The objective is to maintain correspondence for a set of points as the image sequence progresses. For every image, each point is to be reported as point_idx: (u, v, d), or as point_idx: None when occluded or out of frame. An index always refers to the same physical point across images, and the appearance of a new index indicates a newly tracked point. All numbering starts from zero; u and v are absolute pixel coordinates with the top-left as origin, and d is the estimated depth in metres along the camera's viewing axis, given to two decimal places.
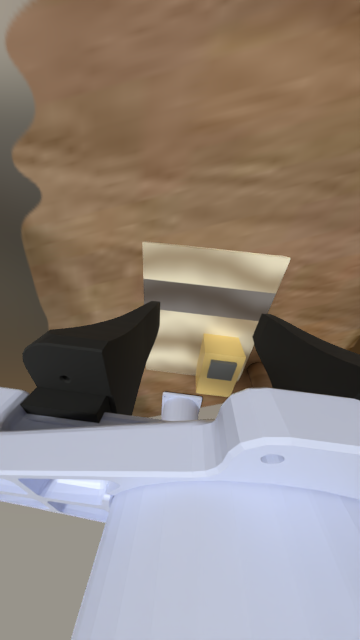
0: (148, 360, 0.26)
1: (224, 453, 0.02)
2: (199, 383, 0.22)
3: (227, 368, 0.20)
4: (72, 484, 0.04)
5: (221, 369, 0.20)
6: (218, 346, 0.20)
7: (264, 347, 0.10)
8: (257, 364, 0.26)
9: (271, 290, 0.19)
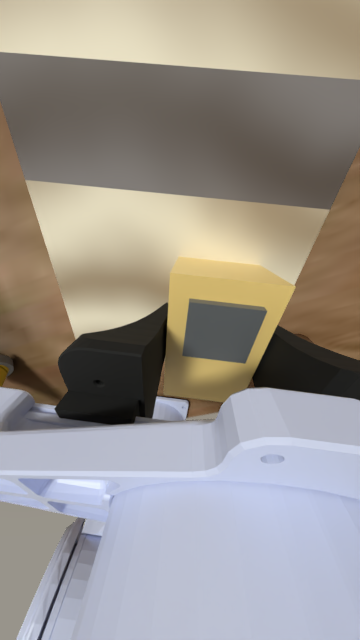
0: (77, 330, 0.13)
1: (224, 453, 0.02)
2: (167, 372, 0.09)
3: (237, 324, 0.07)
4: (72, 484, 0.04)
5: (220, 329, 0.07)
6: (212, 269, 0.08)
7: None
8: None
9: None
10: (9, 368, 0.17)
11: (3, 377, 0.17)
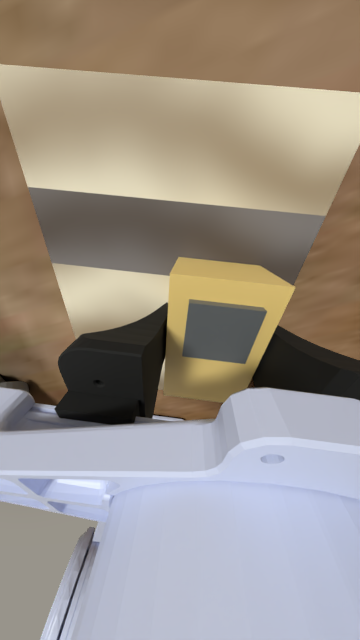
0: None
1: (224, 453, 0.02)
2: (167, 372, 0.09)
3: (236, 325, 0.07)
4: (72, 484, 0.04)
5: (220, 330, 0.07)
6: (212, 270, 0.08)
7: None
8: None
9: (316, 207, 0.08)
10: None
11: None
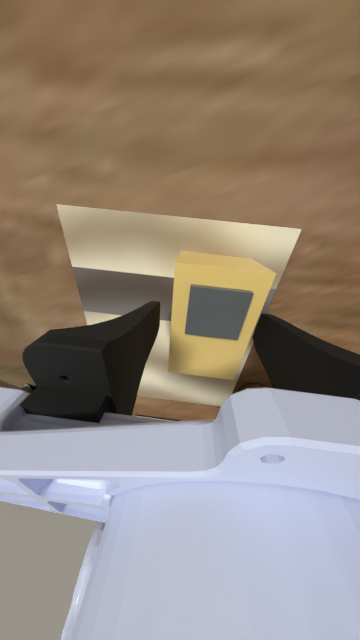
0: None
1: (224, 453, 0.02)
2: (172, 350, 0.11)
3: (229, 305, 0.08)
4: (72, 484, 0.04)
5: (216, 310, 0.09)
6: (210, 260, 0.09)
7: (264, 347, 0.10)
8: (251, 386, 0.19)
9: None
10: None
11: None
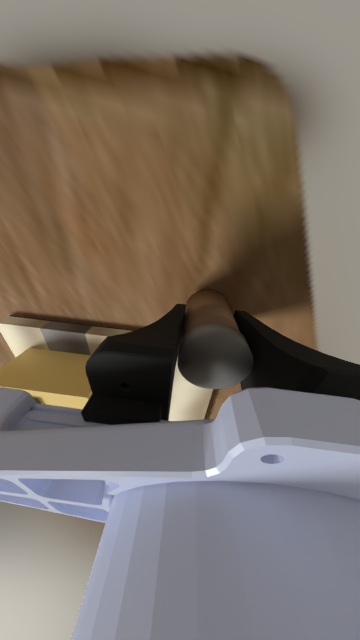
0: None
1: (224, 453, 0.02)
2: None
3: None
4: (72, 484, 0.04)
5: None
6: None
7: None
8: None
9: (38, 333, 0.14)
10: None
11: None
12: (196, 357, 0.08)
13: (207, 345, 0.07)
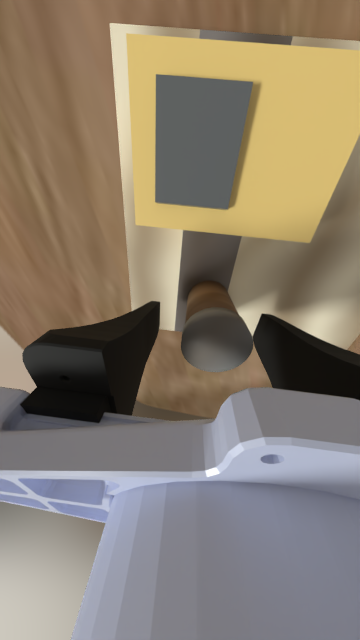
0: None
1: (224, 453, 0.02)
2: (262, 233, 0.07)
3: (178, 124, 0.05)
4: (72, 484, 0.04)
5: (187, 152, 0.06)
6: None
7: (264, 347, 0.10)
8: None
9: None
10: None
11: None
12: (200, 337, 0.08)
13: (213, 326, 0.08)
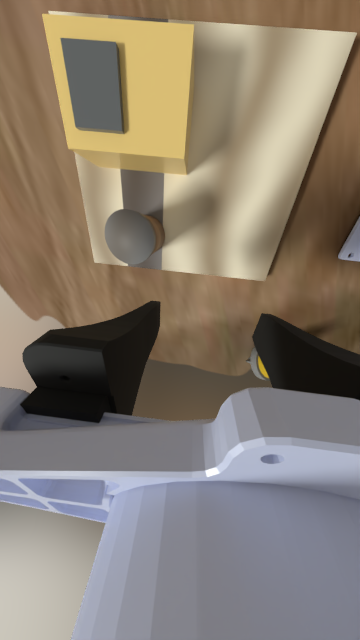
0: (246, 275, 0.18)
1: (224, 453, 0.02)
2: (151, 151, 0.11)
3: (79, 70, 0.09)
4: (72, 484, 0.04)
5: (88, 89, 0.09)
6: None
7: (264, 347, 0.10)
8: None
9: None
10: None
11: None
12: (116, 229, 0.11)
13: (122, 218, 0.11)
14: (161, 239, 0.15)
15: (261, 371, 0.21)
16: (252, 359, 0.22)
